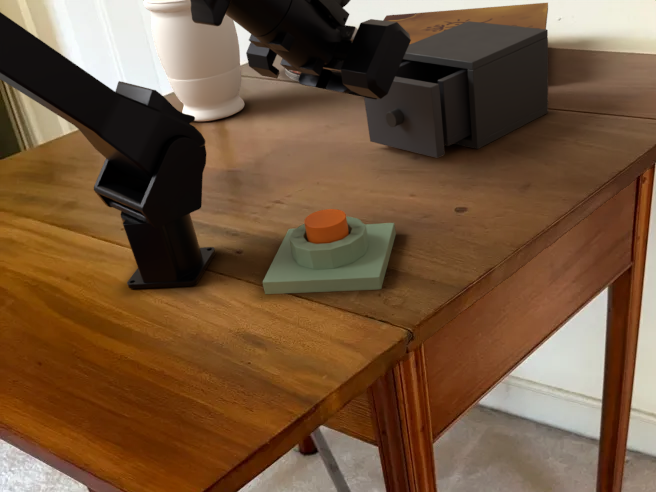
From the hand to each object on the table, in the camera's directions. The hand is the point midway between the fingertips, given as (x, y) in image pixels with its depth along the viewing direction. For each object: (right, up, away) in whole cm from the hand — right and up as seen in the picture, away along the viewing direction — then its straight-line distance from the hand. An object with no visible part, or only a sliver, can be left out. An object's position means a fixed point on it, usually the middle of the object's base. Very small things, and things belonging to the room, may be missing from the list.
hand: (376, 94), depth 84 cm
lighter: (-12, +17, +37) cm, 42 cm away
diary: (+11, +14, +29) cm, 34 cm away
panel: (-4, -19, -12) cm, 23 cm away
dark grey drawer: (+6, -1, +8) cm, 10 cm away
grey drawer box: (+11, +1, +12) cm, 17 cm away
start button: (-4, -17, -13) cm, 22 cm away
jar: (-22, +8, +28) cm, 36 cm away
